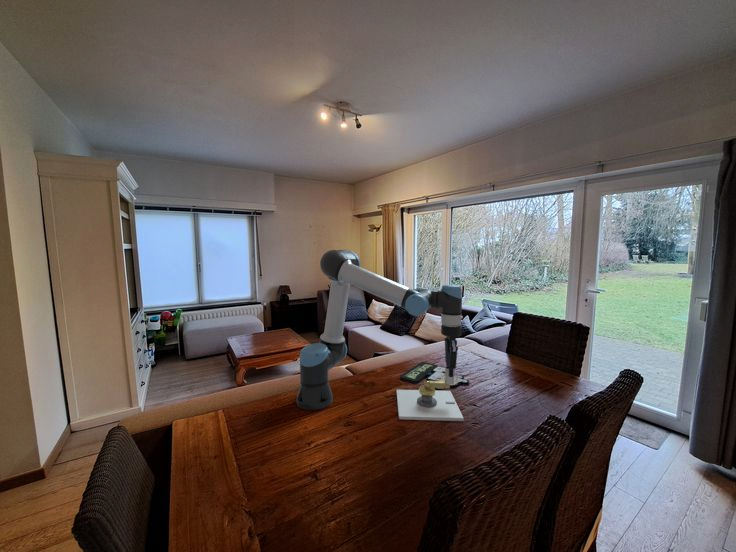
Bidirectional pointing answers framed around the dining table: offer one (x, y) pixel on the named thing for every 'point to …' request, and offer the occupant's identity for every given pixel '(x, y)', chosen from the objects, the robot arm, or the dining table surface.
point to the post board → (427, 406)
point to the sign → (431, 375)
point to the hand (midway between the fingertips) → (450, 383)
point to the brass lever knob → (432, 387)
